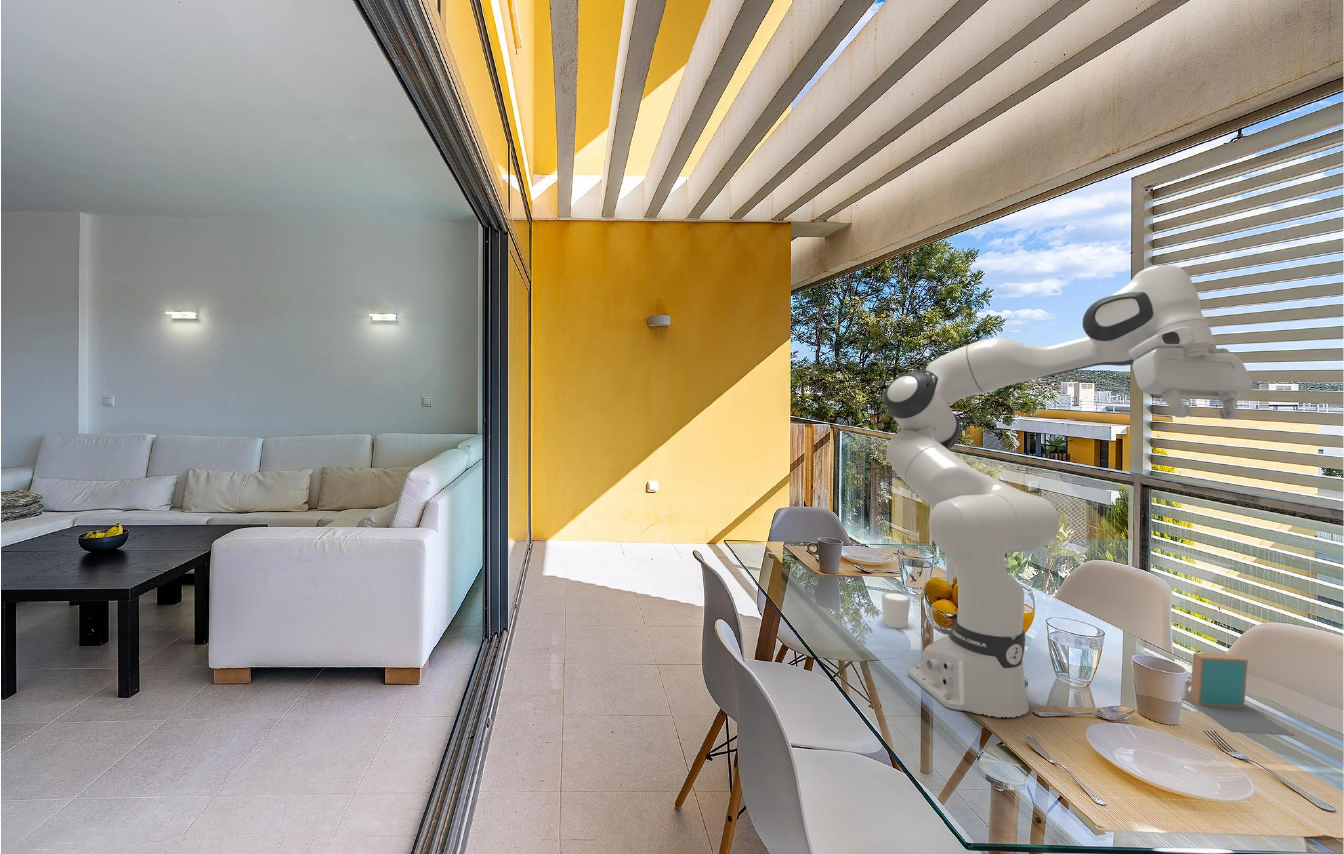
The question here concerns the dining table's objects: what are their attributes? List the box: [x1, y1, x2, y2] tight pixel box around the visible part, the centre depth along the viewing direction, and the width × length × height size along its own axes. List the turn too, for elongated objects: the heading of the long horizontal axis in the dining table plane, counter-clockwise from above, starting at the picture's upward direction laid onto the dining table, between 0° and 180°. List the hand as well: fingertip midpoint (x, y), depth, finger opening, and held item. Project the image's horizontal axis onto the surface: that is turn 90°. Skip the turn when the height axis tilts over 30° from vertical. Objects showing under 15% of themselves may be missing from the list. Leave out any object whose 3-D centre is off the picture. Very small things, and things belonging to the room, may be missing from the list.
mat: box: [1183, 692, 1294, 736], centre depth 118 cm, size 14×10×1 cm
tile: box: [1190, 652, 1249, 707], centre depth 121 cm, size 2×8×9 cm, turn 85°
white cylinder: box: [881, 592, 912, 629], centre depth 161 cm, size 7×7×7 cm
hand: (1207, 417), depth 113 cm, fingers open, 8 cm apart
